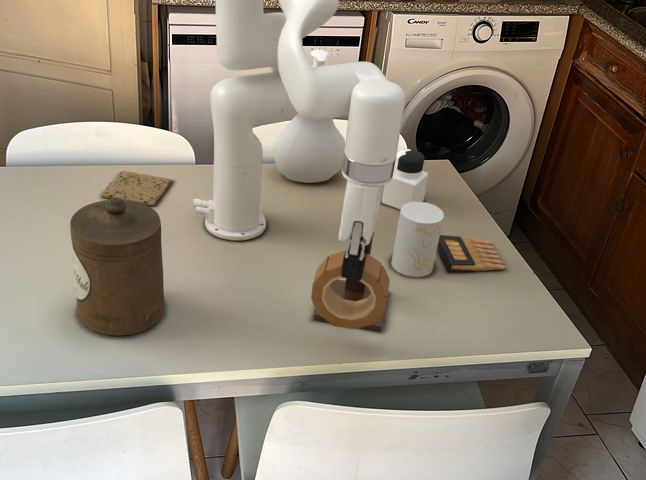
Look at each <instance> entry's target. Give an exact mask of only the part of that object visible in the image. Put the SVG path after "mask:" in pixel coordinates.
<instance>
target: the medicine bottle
mask: <svg viewBox="0 0 646 480" xmlns="http://www.w3.org/2000/svg"><path fill="white" fill-rule="evenodd" d="M424 163H425V156H424V154H423V153H422V152H420V151H418V150H416V149H411V148H410V149H409V148H407V149H401V150H399V151H397V154H396V160H395V166H394V172H393V178H392V180H391V182H389V183H388V184H386V185H383V190H382V197H381V198H382V199H381V203H382V204H383V205H386V206H389V207H392V208H395V209H398V210H400V211H401V207H402V206H403V205H404V204H406V203H409V202H424V200H425V194H426V189H427V185H428V184H427V183H428V180H429V179H428V178H429V172H426V171H424V170H423V169H424Z"/></svg>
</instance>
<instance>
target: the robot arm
mask: <svg viewBox="0 0 646 480" xmlns="http://www.w3.org/2000/svg"><path fill="white" fill-rule="evenodd" d="M277 1H278V3H279V5H280V8H281V10H282V12H281V11H279V12H268V13H264V0H215V35H216V50H217V51H216V52H217V57H218V61H219V63H220V65H221V66H222V67H223V68H225V69H226V70H230V71H248V70H256V69H257V70H258V69H265V68H269V69H270V71H269V72H262V73H255V74H254V73H252V74H245V75H244V74H243V75H236V76H231V77H228V78H224V79H222V80H220V81H218V82H216V83H215V84H214V85H213V87H212V88H211V91H210V93H209V105H210V106H209V107H210V112H211V118H212V119H211V120H212V125H213V182H212V183H213V184H212V185H213V186H212V187H213V189H212V199H209V200H204V199H201V198H200V199H199V198H194V199H193V202H192V207H193V208H194V209H195V210H194V211H195V214H200V215H205V218H204V226H205V228H206V230H207V231H208V232H209V233H210V234H211V235H213V236H215V237H217V238H220V239H223V240H229V241H245V240H246V241H247V240H251V239H254V238H257V237H258V236H260V235H262V234H263V233H264V232H265V230H266V228H267V219H266V216H264V215H263V214H262V213H261V212H260V206H261V190H262V189H261V188H262V175H263V160H264V159H263V156H264V149H263V145H262V142H261V140H260V139H259V138H258V136H257V135H256V134H255V132H254V131H253V130H254V128H257V127H261V126H266V125H272V124H278V123H279V124H280V123H283V122H287V121H291V120H292V119H293V118H294V117H295V116H296V115H297V113H299V115H301V116H302V117H303V118H305V119H308V120H312V121H316V120H324V119H330V118H333V119H336V118H342V117H348V118H347V126H346V133H345V134H346V135H345V150H344V158H343V165H342V168H341V174H342V177H343V178H344V179H345V180H347V181H346V185H345V189H344V196H343V203H342V211H341V217H340V225H339V231H338V236H337V238H338V241H340V242H346V248H345V250H346V254H344V259H343V266H342V274H341V276H342V277H343V278H342V279H346V278H348V279H353V280H361V279H362V274H363V267H364V260H365V258H363V256H364V253H365V256H366V255H367V249H368V244H369V243H370V240H371V236H372V233H373V232H374V229H375V226H376V222H377V218H378V215H379V209H380V205H381V201H382V199H381V198H382V195H383V189H384V185H386V184H388V183H389V182H391V180H392V178H393V172H394V167H395V161H396V155H397V153H398V148H399V147H398V146H399V140H400V135H401V129H402V123H403V116H404V110H405V105H406V104H405V103H406V94H405V91H404V90H403V88H402V87H401V86H400V85H399V84H397V83H395V82H392V81H390V80H389V79H387V77H386V75H385V74H384V73H383V72H382V70H381V69H380V68H379V67H378V66H377V65H376V64H374V63H372V62H370V61H355V62H354V61H353V62H347V63H335V64H329V65H327V64H326V65H324V66H320V67H313V68H312V67H311V66H312V65H311V63H310V61H309V59H308V57H307V55H306V52H305V50H304V47H303V39H304V38H306V37H307V36H308V35H310V34H312V33H313V32H314V31H316V30H318V29H319V28H321V27H322V26H324V25H325V24H326V23H327V22H328V21H329V20H331V19H332V17H333V16H334V15H335V14H336V12H337V10H338V8H339V4H340V3H339V1H340V0H277Z"/></svg>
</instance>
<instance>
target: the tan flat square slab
mask: <svg viewBox="0 0 646 480" xmlns="http://www.w3.org/2000/svg"><path fill="white" fill-rule="evenodd" d="M171 183H173V179H171V178H166V177H160V176H154V175H148V174H142V173H136V172H131V171H125V170H122V171H121V172H119V174H118V175H117V176H116V178H114V180H113V181H112V182H111V183H110V185H109V186H107V187H106V188H105V190H104V192H102V194H101V197H102V198H106V199H111V198H114V197H116V198H119V199H122V200H130V201H135V202H139V203H142V204H145V205H147V206H149V207H154V206H156V204H157V202H158V201H159V199H160V198H161V197H162V196H163V194H164V193H165V192H166V191H167V189H168V188H169V186H170V185H171Z"/></svg>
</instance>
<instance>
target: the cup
mask: <svg viewBox="0 0 646 480" xmlns="http://www.w3.org/2000/svg"><path fill="white" fill-rule="evenodd" d="M444 217H445V214H444V212H443V210H442V209H441V208H440V207H438V206H436V205H434V204H432V203H429V202H424V201H423V202H409V203H406V204H404V205H403V206H402V207H401V210H400V211H399V217H398V223H397V228H396V234H395V240H394V245H393V251H392V256H391V263H390V264H391V267H392V268H393V269H394V270H395V271H396V272H398V273H399V274H401V275H404V276H407V277H412V278H421V277H426V276H428V275H430V274H431V273H432V272H433V269H434V265H435V260H436V256H437V250H438V248H437V246H438V242H439V237H440V235H441V232H442V227H443V222H444Z"/></svg>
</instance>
